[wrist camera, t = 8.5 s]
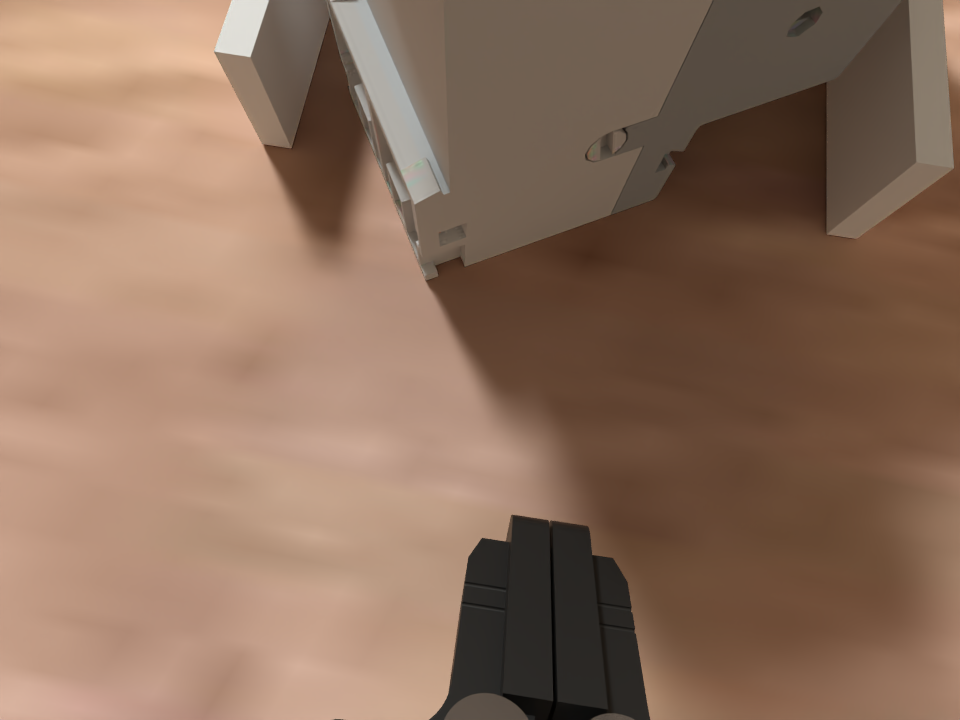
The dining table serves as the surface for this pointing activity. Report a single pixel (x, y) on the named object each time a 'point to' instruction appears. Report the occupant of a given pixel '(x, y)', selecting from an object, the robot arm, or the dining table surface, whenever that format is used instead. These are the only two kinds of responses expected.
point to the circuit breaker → (564, 100)
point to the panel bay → (850, 100)
